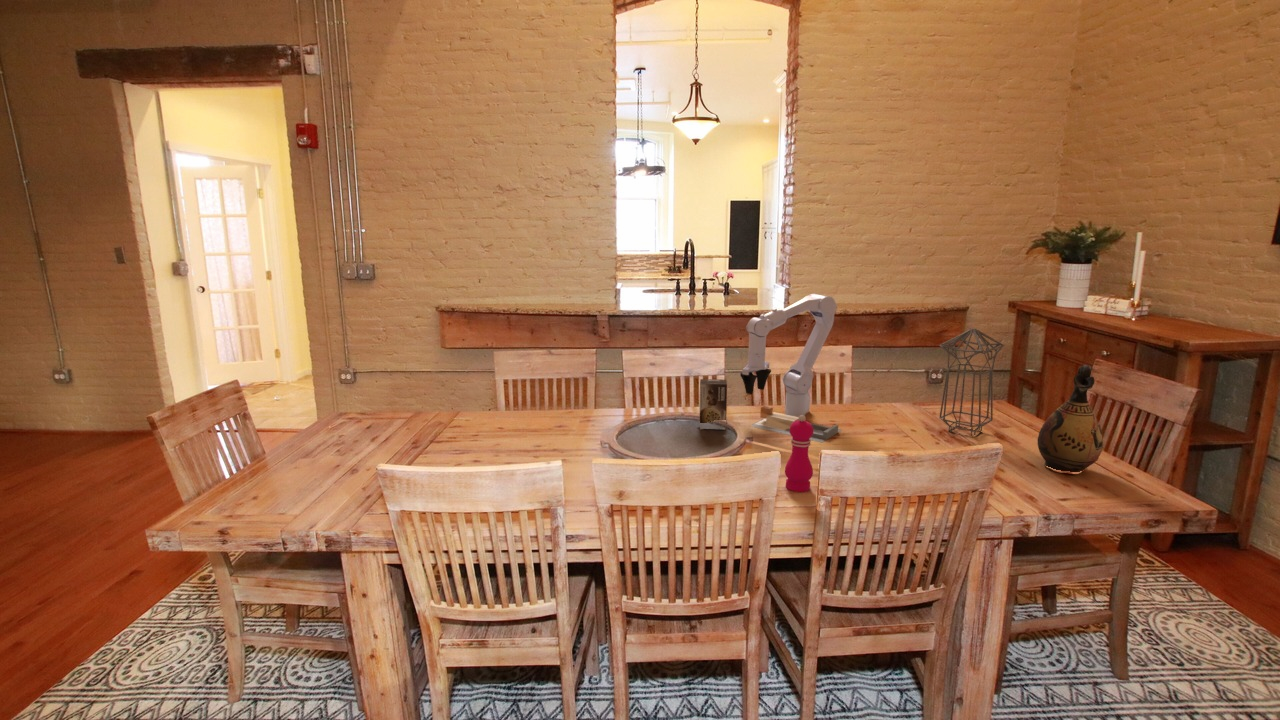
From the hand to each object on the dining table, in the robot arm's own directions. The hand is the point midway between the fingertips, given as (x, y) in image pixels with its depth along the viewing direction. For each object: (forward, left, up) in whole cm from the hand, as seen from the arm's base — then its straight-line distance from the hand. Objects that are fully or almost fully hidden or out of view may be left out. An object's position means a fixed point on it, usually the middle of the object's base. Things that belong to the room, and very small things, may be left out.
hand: (755, 391), depth 226 cm
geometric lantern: (-33, +60, -11) cm, 69 cm away
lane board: (+1, +16, -10) cm, 19 cm away
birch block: (+1, +10, -10) cm, 14 cm away
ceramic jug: (-17, +91, -11) cm, 93 cm away
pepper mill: (+44, +37, -11) cm, 58 cm away
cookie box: (+16, -7, -11) cm, 20 cm away
